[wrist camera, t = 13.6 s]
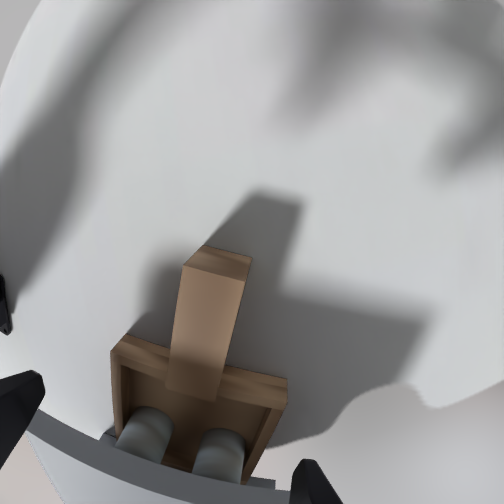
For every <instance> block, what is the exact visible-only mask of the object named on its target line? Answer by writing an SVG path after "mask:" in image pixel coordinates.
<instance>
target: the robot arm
mask: <svg viewBox="0 0 504 504" xmlns="http://www.w3.org/2000/svg"><path fill="white" fill-rule="evenodd" d="M0 331H1V332H2V333H4V334H5V335H9V334H10V333H11V330H10V325H9V319H8V313H7V306H6V299H5V290H4V281H3V277H2V276H1V274H0ZM44 396H45V387H44V383H43V379H42V376H41V375H40V374H39V373H37V372H36V371H34V370H29V371H25V372H22V373H19V374H16V375H13V376H9V377H6V378H3V379H0V469H1V468H2V466H3V465H4V463H5V461H6V460H7V458H8V457H9V455H10V453H11V452H12V450H13V449H14V447H15V446H16V444H17V443H18V441H19V440H20V438H21V437H22V435H23V433H24V432H25V431H26V429H27V427H28V426H29V424H30V422H31V421H32V419H33V417H34V415H35V413H36V411H37V409H38V407H39V405H40V403H41V402H42V400H43V398H44ZM289 504H343V502H342V501H341V499H340V498H339V496H338V495H337V493H336V492H335V490H334V489H333V487H332V486H331V484H330V482H329V481H328V479H327V478H326V476H325V475H324V473H323V471H322V470H321V468H320V467H319V465H318V464H317V462H316V461H315V460H312V459H302V460H301V461H300V463H299V464H298V466H297V467H296V469H295V471H294V472H293V476H292V483H291V491H290V498H289Z"/></svg>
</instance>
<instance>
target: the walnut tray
mask: <svg viewBox="0 0 504 504" xmlns="http://www.w3.org/2000/svg"><path fill="white" fill-rule="evenodd" d="M251 260H252V258H251V257H247V256H243V255H239V254H236V253H232V252H228V251H224V250H220V249H216V248H212V247H209V246H205V245H202V246H201V247H200V248H199V249H198V250H197V251H196V252H195V253H194V255H193V256H192V257H191V258H190V259H189V260H188V261H187V262H186V263H185V264H184V265H183V269H182V275H181V280H180V286H179V293H178V299H177V305H176V312H175V319H174V325H173V333H172V340H171V347H170V349H169V348H166V347H163V346H159V345H156V344H153V343H151V342H148V341H145V340H142V339H139V338H136V337H133V336H131V335H128V334H125V335H124V336H123V337H122V339H121V340H120V341H119V342H118V343H117V344H116V345H115V347H114V348H113V349H112V350H111V351H110V358H111V385H112V401H113V413H114V424H115V433H116V441H117V443H116V445H115V446H114V448H117V449H119V450H122V451H124V452H127V453H129V454H132V455H134V456H137V457H140V458H143V459H145V460H148V461H151V462H154V463H157V464H162V465H165V466H168V467H171V468H174V469H178V470H181V471H184V472H188V473H192V474H194V475H198V476H202V477H207V478H211V479H215V480H220V481H225V482H230V483H235V484H241V485H246V483H247V482H248V480H249V478H250V476H251V474H252V472H253V470H254V469H255V467H256V465H257V463H258V461H259V459H260V457H261V455H262V454H263V452H264V450H265V448H266V446H267V444H268V442H269V440H270V438H271V436H272V434H273V432H274V430H275V428H276V426H277V424H278V422H279V419H280V417H281V415H282V413H283V411H284V409H285V407H286V405H287V379H284V378H279V377H275V376H270V375H265V374H261V373H256V372H252V371H248V370H244V369H240V368H235V367H232V366H228V365H225V361H226V357H227V353H228V349H229V345H230V342H231V338H232V334H233V330H234V326H235V322H236V318H237V314H238V310H239V307H240V303H241V299H242V295H243V291H244V287H245V283H246V279H247V275H248V272H249V268H250V264H251Z"/></svg>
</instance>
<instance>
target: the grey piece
mask: <svg viewBox="0 0 504 504" xmlns="http://www.w3.org/2000/svg"><path fill="white" fill-rule="evenodd" d="M25 434H26V436H27V439H28V441H29V443H30V445H31V447H32V449H33V451H34V453H35V455H36V457H37V459H38V461H39V462H40V464H41V466H42V468H43V470H44V471H45V473H46V475H47V477H48V478H49V480H50V482H51V484H52V485H53V487H54V488H55V490H56V492H57V493H58V495H59V496H60V498H61V499H62V501H63V502H64V504H289V498H290V491H285V490H275V480H271V479H264V478H257V477H251V476H250V478H249V480H248V482H247V483H246V485H241V484H235V483H230V482H225V481H220V480H215V479H211V478H207V477H202V476H198V475H194V474H192V473H188V472H184V471H181V470H178V469H174V468H171V467H168V466H165V465H162V464H157V463H154V462H151V461H148V460H145V459H143V458H140V457H137V456H134V455H132V454H129V453H127V452H124V451H122V450H119V449H117V448H114V446H115V445H116V443H117V441H116V438H115V437H112V436H110V435H107V434H105V433H103V435H102V436H101V438H100V440H99V441H98V440H96V439H94V438H92V437H90V436H88V435H86V434H84V433H81V432H79V431H77V430H76V429H74V428H72V427H70V426H68V425H66V424H64V423H62V422H60V421H59V420H57V419H55V418H53V417H52V416H50V415H48V414H46V413H45V412H43V411H41V410H40V409H38V410H37V411H36V413H35V415H34V417H33V419H32V421H31V422H30V424H29V426H28V427H27V429H26V431H25Z"/></svg>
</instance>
